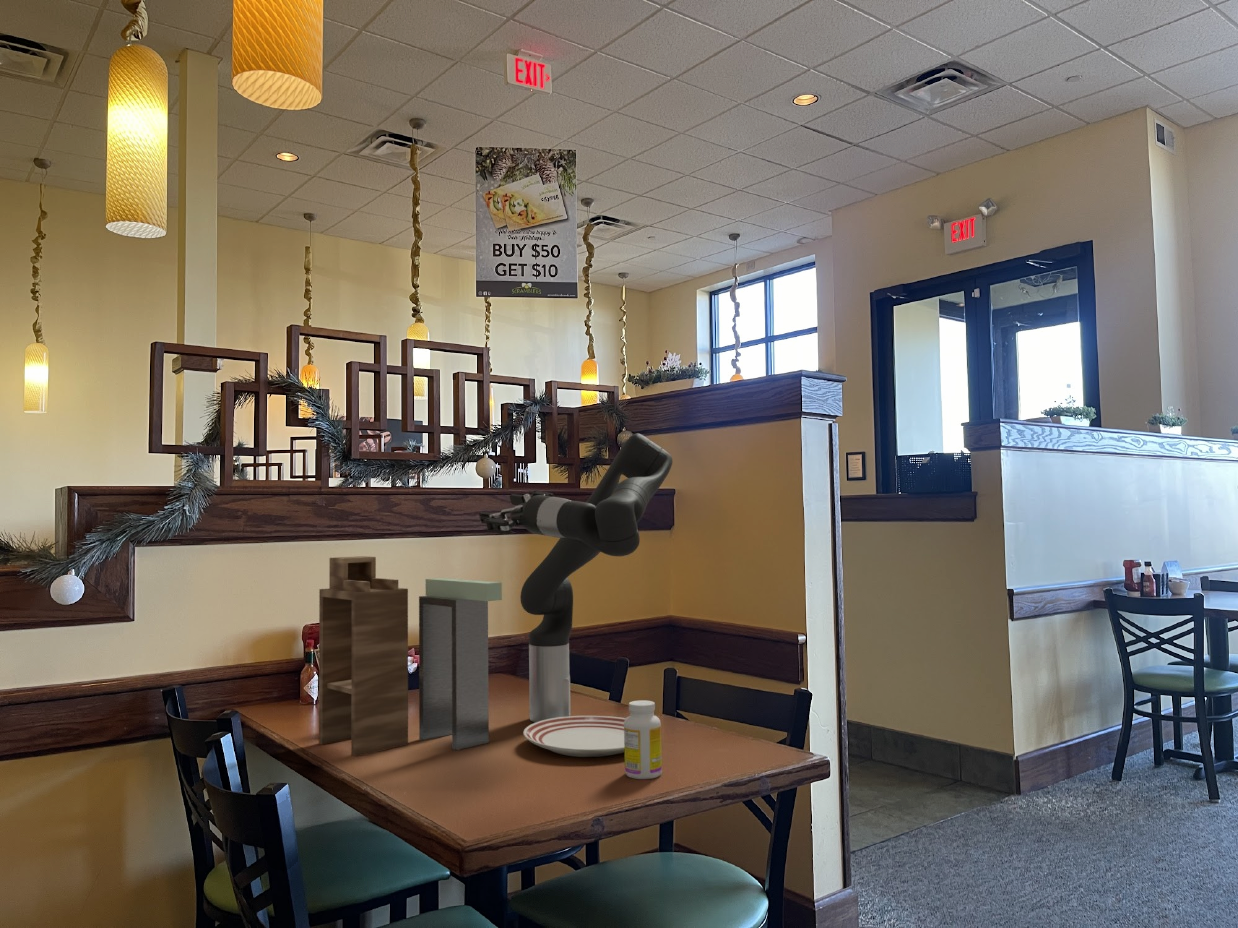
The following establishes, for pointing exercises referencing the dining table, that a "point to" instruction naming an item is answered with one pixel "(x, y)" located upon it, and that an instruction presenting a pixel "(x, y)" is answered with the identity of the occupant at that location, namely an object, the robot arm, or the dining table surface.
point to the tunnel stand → (363, 658)
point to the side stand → (453, 670)
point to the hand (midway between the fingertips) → (496, 508)
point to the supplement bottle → (642, 741)
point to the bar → (464, 589)
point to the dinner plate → (579, 735)
